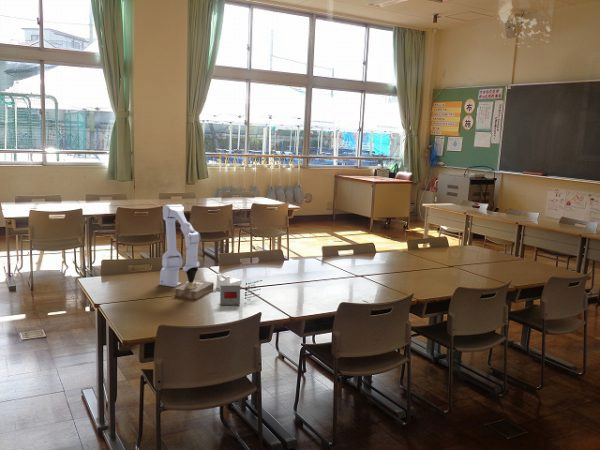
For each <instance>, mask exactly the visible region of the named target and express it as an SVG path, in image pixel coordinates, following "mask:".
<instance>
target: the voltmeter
mask: <svg viewBox="0 0 600 450" xmlns="http://www.w3.org/2000/svg"><path fill="white" fill-rule="evenodd" d="M259 282H263V280H262V279H260V280H257V281H252V282H245V292H244V296H245V297H244V300H246V301H249V299H251V298H252V297H253V298H254V297H257V296H260V293H259V294H258V293H257V294H255V293H254V292H256V291H260V290H261V288H257V286H256V285H255V284H256V283H259ZM247 285H248V286H247ZM247 287H248V288H247ZM250 287H251V288H250ZM256 288H257V289H256ZM252 289H254V290H252ZM248 290H250V291H248ZM250 295H252V296H250ZM247 296H248V297H247ZM219 303H220V304H219V305H220V306H233V305H235V306H237V305H239V304H240V305H241V285H220V288H219Z"/></svg>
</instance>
